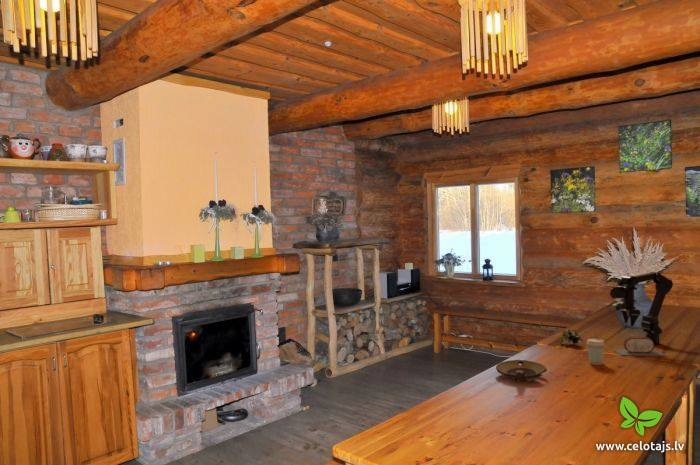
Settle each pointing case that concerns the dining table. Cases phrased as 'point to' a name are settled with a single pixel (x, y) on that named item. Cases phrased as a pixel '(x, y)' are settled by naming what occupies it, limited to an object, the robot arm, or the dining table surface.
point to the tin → (638, 344)
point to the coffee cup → (595, 351)
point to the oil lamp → (521, 369)
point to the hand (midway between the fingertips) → (628, 324)
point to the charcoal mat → (626, 353)
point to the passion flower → (570, 337)
